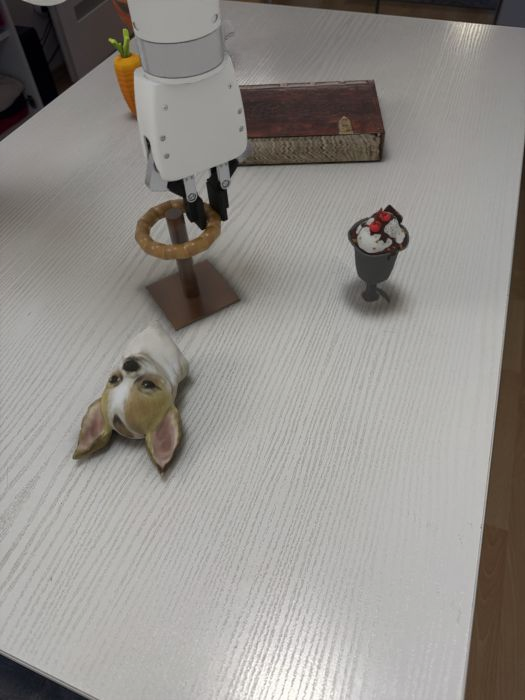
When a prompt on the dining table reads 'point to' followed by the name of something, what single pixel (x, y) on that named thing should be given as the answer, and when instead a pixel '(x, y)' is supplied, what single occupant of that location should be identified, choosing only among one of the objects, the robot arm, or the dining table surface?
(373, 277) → the sundae
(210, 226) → the ring
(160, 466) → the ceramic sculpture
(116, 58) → the carrot
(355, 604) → the dining table surface
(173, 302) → the peg
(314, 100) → the hardback book
